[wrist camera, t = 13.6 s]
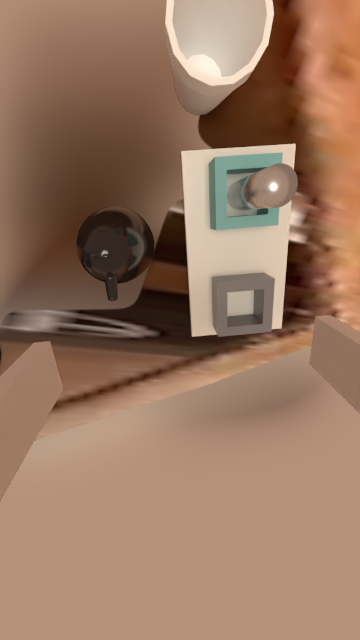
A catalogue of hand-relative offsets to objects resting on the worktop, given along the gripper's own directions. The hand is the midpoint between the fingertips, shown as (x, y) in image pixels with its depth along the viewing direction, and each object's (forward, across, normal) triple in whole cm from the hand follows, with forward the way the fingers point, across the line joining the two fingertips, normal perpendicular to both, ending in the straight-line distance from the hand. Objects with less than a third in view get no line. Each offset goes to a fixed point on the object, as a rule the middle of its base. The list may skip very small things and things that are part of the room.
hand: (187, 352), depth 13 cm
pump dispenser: (+32, -7, +3) cm, 33 cm away
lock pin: (+30, +11, +8) cm, 33 cm away
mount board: (+32, +11, 0) cm, 34 cm away
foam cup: (+32, +6, +22) cm, 39 cm away
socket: (+30, +11, +8) cm, 33 cm away
